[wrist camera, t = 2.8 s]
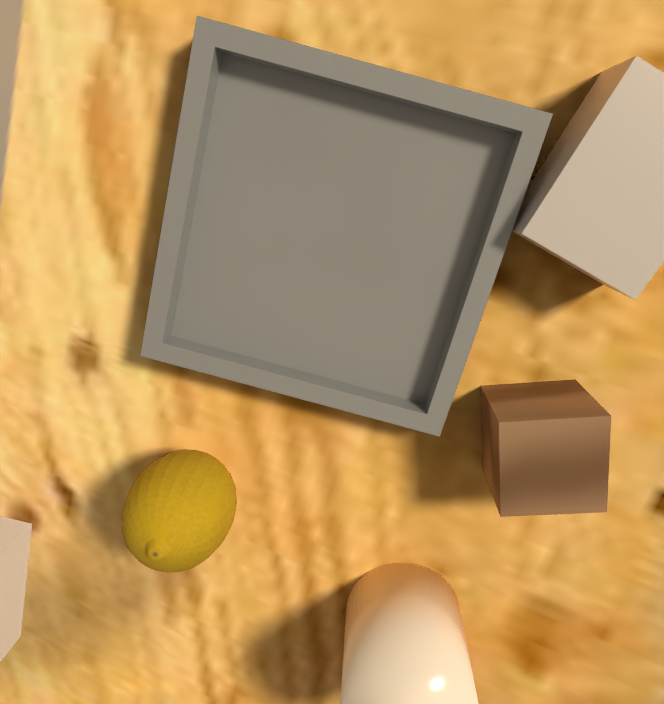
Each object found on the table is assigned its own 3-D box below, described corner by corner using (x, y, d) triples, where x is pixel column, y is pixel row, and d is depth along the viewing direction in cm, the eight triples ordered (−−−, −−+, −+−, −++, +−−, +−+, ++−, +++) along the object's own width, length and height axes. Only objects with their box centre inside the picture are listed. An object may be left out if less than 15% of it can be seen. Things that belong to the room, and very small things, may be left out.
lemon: (231, 524, 35) (192, 620, 28) (145, 490, 35) (82, 578, 27) (263, 449, 34) (230, 529, 26) (174, 412, 33) (114, 483, 26)
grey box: (599, 73, 27) (636, 55, 23) (704, 138, 27) (758, 131, 24) (502, 226, 29) (521, 233, 25) (601, 283, 30) (635, 299, 26)
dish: (211, 29, 27) (196, 15, 25) (538, 118, 27) (553, 113, 25) (156, 342, 32) (140, 355, 30) (435, 418, 32) (439, 436, 30)
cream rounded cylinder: (363, 550, 35) (360, 654, 27) (474, 579, 35) (502, 692, 27) (334, 639, 37) (323, 759, 30) (439, 666, 37) (456, 793, 30)
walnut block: (480, 385, 32) (499, 422, 27) (574, 379, 31) (610, 415, 26) (482, 467, 33) (500, 516, 28) (572, 462, 33) (607, 512, 28)
